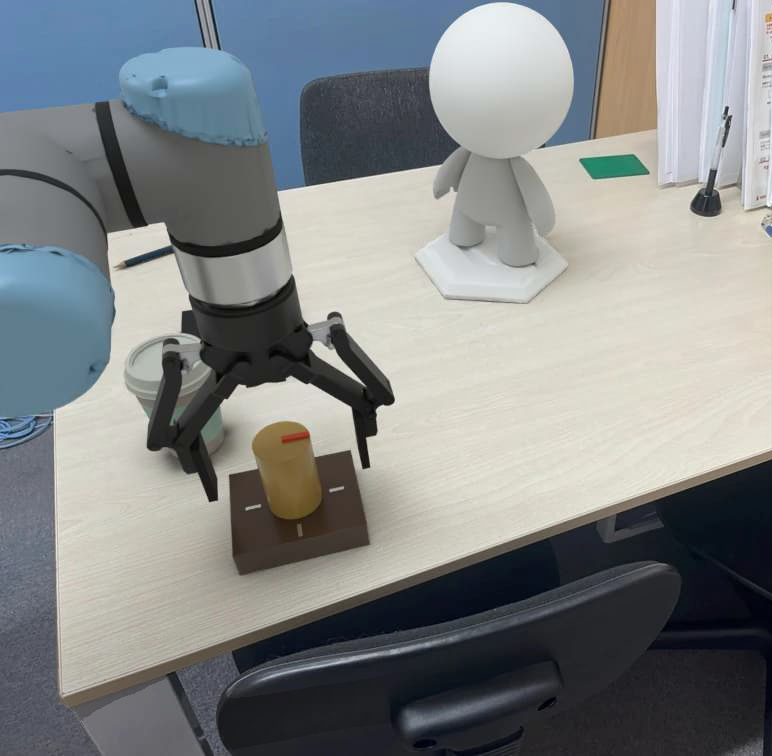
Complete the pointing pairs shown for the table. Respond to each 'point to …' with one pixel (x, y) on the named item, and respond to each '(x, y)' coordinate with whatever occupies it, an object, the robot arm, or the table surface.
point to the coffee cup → (146, 378)
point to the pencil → (145, 257)
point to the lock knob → (288, 469)
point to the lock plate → (296, 536)
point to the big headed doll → (497, 152)
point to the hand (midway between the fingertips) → (290, 474)
